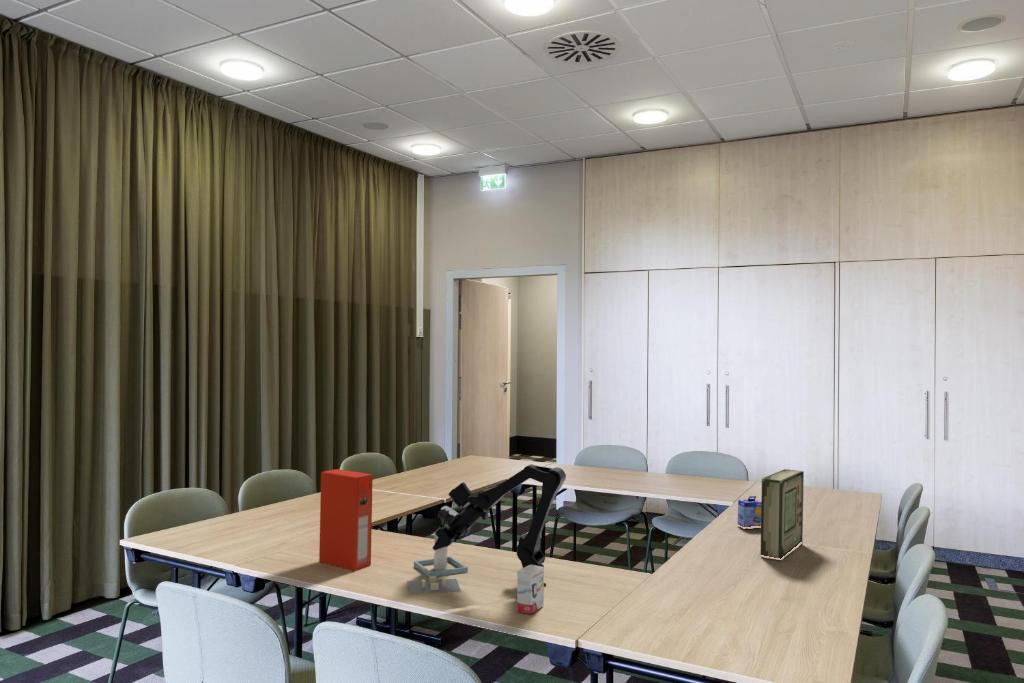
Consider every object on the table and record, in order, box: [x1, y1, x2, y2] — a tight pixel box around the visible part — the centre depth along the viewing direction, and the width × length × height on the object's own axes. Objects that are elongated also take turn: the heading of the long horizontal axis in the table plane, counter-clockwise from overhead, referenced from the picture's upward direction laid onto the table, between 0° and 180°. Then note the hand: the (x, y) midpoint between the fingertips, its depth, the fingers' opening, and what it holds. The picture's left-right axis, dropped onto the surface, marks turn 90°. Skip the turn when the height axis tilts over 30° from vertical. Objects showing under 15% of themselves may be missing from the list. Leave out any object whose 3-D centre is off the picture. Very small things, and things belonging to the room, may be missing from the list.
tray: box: [413, 555, 469, 578], centre depth 237 cm, size 14×14×2 cm
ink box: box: [516, 565, 545, 615], centre depth 205 cm, size 9×5×12 cm, turn 150°
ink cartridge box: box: [737, 495, 762, 527], centre depth 309 cm, size 10×6×14 cm, turn 107°
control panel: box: [760, 468, 805, 559], centre depth 274 cm, size 30×8×30 cm, turn 143°
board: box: [406, 576, 462, 595], centre depth 220 cm, size 16×12×3 cm
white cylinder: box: [433, 533, 448, 571], centre depth 237 cm, size 5×5×12 cm
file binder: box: [318, 468, 374, 572], centre depth 243 cm, size 8×17×32 cm, turn 59°
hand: (437, 546), depth 238 cm, fingers open, 6 cm apart
